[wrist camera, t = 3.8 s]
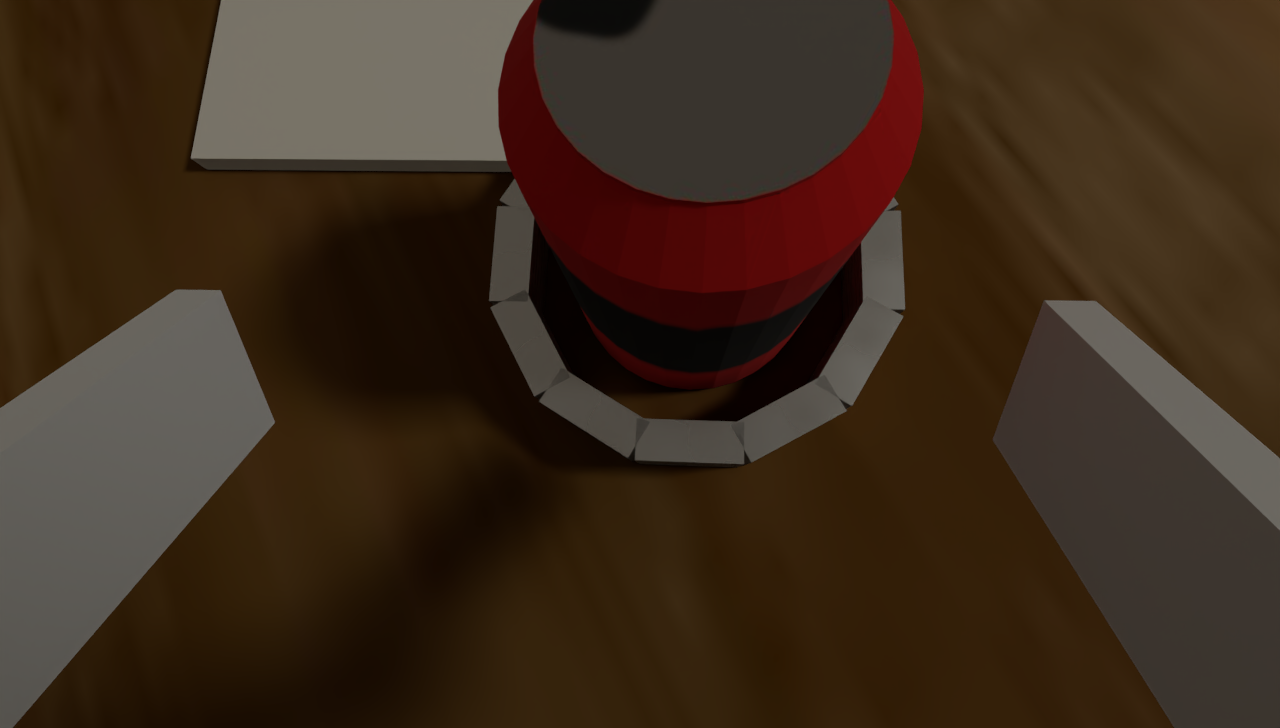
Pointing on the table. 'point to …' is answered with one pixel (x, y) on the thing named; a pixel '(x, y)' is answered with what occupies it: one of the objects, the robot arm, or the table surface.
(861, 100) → the soda can
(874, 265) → the steel ring holder
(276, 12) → the cream coaster
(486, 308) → the table surface
